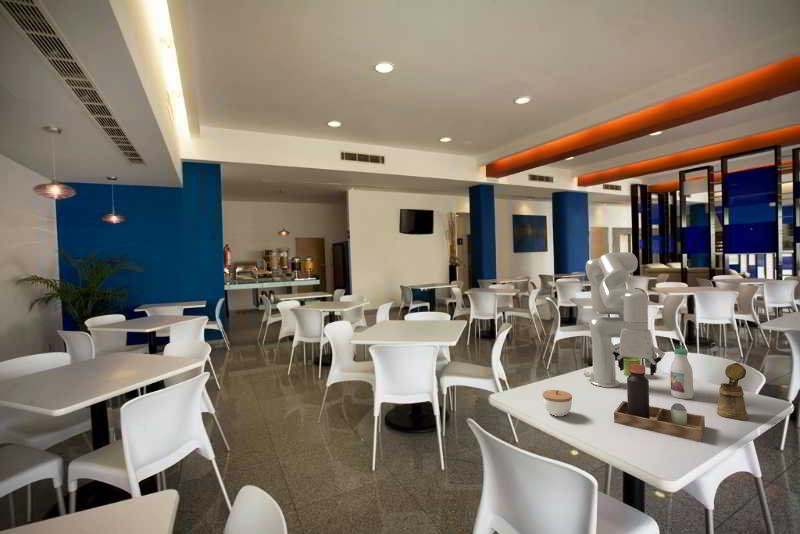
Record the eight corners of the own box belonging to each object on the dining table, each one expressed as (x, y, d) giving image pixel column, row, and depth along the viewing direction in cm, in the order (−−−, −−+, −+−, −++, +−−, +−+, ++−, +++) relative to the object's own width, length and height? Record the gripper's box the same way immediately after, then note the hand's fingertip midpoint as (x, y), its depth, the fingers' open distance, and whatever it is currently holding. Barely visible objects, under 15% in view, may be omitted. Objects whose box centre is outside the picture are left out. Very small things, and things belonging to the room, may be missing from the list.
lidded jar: (538, 409, 156) (537, 386, 156) (563, 407, 157) (563, 384, 157) (551, 420, 146) (550, 395, 146) (578, 418, 147) (577, 393, 146)
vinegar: (639, 415, 145) (638, 362, 145) (654, 423, 138) (653, 367, 138) (623, 417, 144) (622, 363, 144) (637, 424, 137) (636, 368, 137)
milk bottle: (685, 393, 168) (684, 347, 167) (697, 399, 160) (696, 351, 159) (667, 393, 168) (665, 347, 168) (678, 399, 161) (676, 352, 160)
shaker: (670, 429, 133) (669, 404, 133) (672, 425, 136) (671, 400, 136) (686, 432, 130) (685, 407, 130) (687, 428, 133) (687, 403, 133)
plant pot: (618, 375, 194) (617, 358, 194) (622, 371, 202) (621, 354, 201) (640, 379, 188) (639, 361, 188) (643, 374, 196) (642, 357, 195)
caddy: (614, 424, 140) (613, 412, 140) (623, 412, 150) (622, 400, 150) (701, 444, 123) (701, 430, 123) (704, 428, 134) (704, 416, 134)
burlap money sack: (754, 412, 146) (752, 364, 145) (744, 422, 138) (743, 372, 137) (724, 405, 153) (722, 360, 152) (713, 415, 145) (712, 367, 144)
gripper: (607, 325, 143) (608, 370, 144) (662, 330, 132) (663, 379, 133) (612, 321, 149) (613, 365, 150) (666, 326, 137) (666, 373, 138)
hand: (636, 372), depth 141 cm, fingers open, 9 cm apart
